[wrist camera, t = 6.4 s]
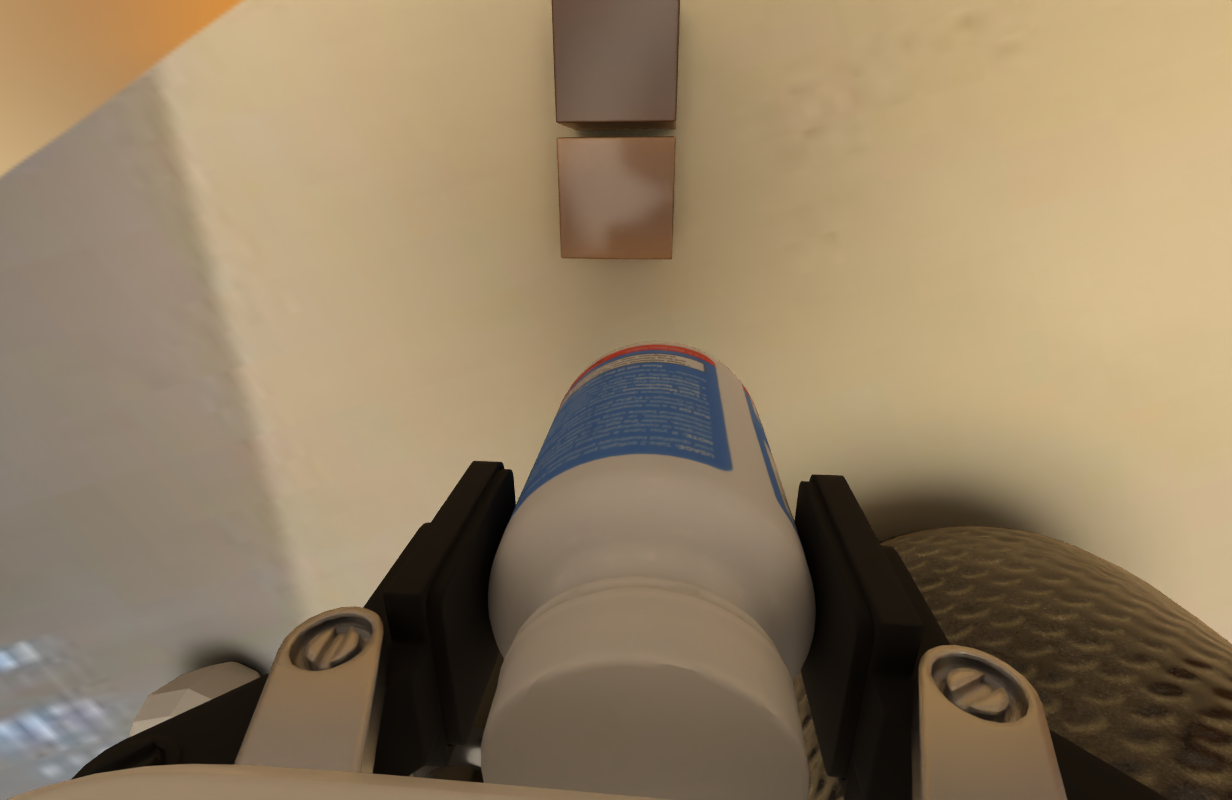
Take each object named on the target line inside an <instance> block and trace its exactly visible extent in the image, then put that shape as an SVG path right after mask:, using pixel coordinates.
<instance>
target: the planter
mask: <svg viewBox="0 0 1232 800" xmlns="http://www.w3.org/2000/svg"><path fill="white" fill-rule="evenodd" d="M880 545H886V546H892V547H894V548H895V550H896V551H897V552H898V554H899V555H900V557H901V559H902V561H903V562H904V564H905V566H906V568H907V569H908V571H909V573H910V575H911V576H912V578H913V580H914V582H915V583H916V585H917V587H918V589H919V590H920V592H921V594H922V596H923V597H924V599H925V601H926V603H927V604H928V606H929V608H930V610H931V611H932V613H933V615H934V617H935V618H936V620H937V622H938V624H939V625H940V627H941V629H942V631H943V632H944V634H945V636H946V638H947V639H948V641H949V643H950V645H958V646H964V647H970V648H974V649H977V650H979V651H982V652H985V653H988V654H991V655H992V656H994V657H996V658H998V659H1000V660H1002V661H1003V662H1005V663H1007V664H1009V665H1010V666H1011V667H1013V668H1014V669H1015V670H1016V671H1018V672H1019V673H1020V674H1021V675H1023V676H1024V677H1025V678H1026V679H1027V681H1028V682H1029V683H1030V684H1031V685H1032V686H1033V688H1034V689H1035V690H1036V692H1037V694H1038V696H1039V698H1040V700H1041V702H1042V704H1043V708H1044V712H1045V716H1046V720H1047V724H1048V727H1049V729H1050V730H1052V731H1053V732H1055V733H1057V734H1059V735H1060V736H1062V737H1064V738H1065V739H1067V740H1069V741H1070V742H1072V743H1074V744H1076V745H1077V746H1079V747H1081V748H1082V749H1084V750H1086V751H1088V752H1089V753H1091V754H1093V755H1094V756H1096V757H1098V758H1099V759H1101V760H1103V761H1105V762H1106V763H1108V764H1110V765H1111V766H1113V767H1115V768H1116V769H1118V770H1120V771H1122V772H1123V773H1125V774H1127V775H1128V776H1130V777H1132V778H1133V779H1135V780H1137V781H1139V782H1140V783H1142V784H1144V785H1145V786H1147V787H1149V788H1150V789H1152V790H1154V791H1156V792H1157V793H1159V794H1161V795H1162V796H1164V797H1166V798H1167V799H1169V800H1232V644H1231V643H1230V642H1228V641H1227V640H1226V639H1224V638H1223V637H1222V636H1220V635H1219V634H1218V633H1217V632H1215V631H1214V630H1213V629H1211V628H1210V627H1209V626H1208V625H1206V624H1205V623H1204V622H1202V621H1201V620H1200V619H1198V618H1197V617H1195V616H1194V615H1192V614H1191V613H1190V612H1188V611H1187V610H1185V609H1184V608H1182V607H1181V606H1180V605H1178V604H1177V603H1175V602H1174V601H1172V600H1171V599H1170V598H1168V597H1167V596H1165V595H1164V594H1162V593H1161V592H1160V591H1158V590H1157V589H1155V588H1154V587H1152V586H1151V585H1150V584H1148V583H1147V582H1145V581H1143V580H1142V579H1140V578H1138V577H1136V576H1135V575H1133V574H1131V573H1130V572H1128V571H1126V570H1124V569H1123V568H1121V567H1119V566H1117V565H1115V564H1113V563H1110V562H1108V561H1106V560H1104V559H1102V558H1100V557H1098V556H1095V555H1093V554H1091V553H1089V552H1087V551H1085V550H1083V549H1080V548H1078V547H1076V546H1074V545H1071V544H1068V543H1065V542H1063V541H1060V540H1057V539H1053V538H1050V537H1046V536H1043V535H1039V534H1036V533H1032V532H1028V531H1021V530H1014V529H1007V528H1000V527H992V526H953V527H944V528H935V529H926V530H922V531H918V532H914V533H910V534H905V535H901V536H898V537H894V538H891V539H888V540H886V541H883V542H880ZM793 684H794V688H795V693H796V698H797V707H798V712H799V717H800V723H801V728H802V733H803V739H804V745H805V750H806V756H807V762H808V767H809V791H808V798H807V800H844V799H843V795H842V791H841V787H840V783H839V780H838V777H829V776H828V775H827V774H826V771H825V768H824V764H823V760H822V756H821V752H820V748H819V744H818V740H817V736H816V732H815V728H814V723H813V719H812V715H811V711H810V707H809V703H808V699H807V695H806V691H805V687H804V683H803V679H802V674H801V670H800V673H799V674H798V676H797V677H796V679H795V680H794V681H793Z"/></svg>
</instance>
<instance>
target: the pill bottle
mask: <svg viewBox="0 0 1232 800" xmlns="http://www.w3.org/2000/svg"><path fill="white" fill-rule="evenodd" d="M488 611H489V619H490V623H491V627H492V631H493V634H494V637H495V640H496V643H497V646H498V648H499V650H500V652H501V654H502V656H503V658H504V661H503V664H502V666H501V670H500V674H499V679H498V686H497V689H496V692H495V695H494V699H493V702H492V706H491V709H490V712H489V716H488V719H487V723H486V726H485V730H484V733H483V738H482V743H481V770H482V775H483V781H484V783H491V784H502V785H514V786H526V787H537V788H548V789H559V790H570V791H581V792H593V793H604V794H615V795H626V796H637V797H648V798H659V799H670V800H807V798H808V791H809V767H808V762H807V756H806V750H805V745H804V739H803V733H802V728H801V723H800V717H799V712H798V707H797V698H796V693H795V688H794V684H793V681H794V680H795V679H796V677H797V676H798V674H799V673H800V670H801V668H802V666H803V664H804V662H805V660H806V658H807V655H808V653H809V650H810V646H811V643H812V639H813V635H814V630H815V620H816V603H815V594H814V588H813V583H812V579H811V575H810V571H809V568H808V565H807V561H806V557H805V553H804V550H803V547H802V544H801V541H800V538H799V535H798V532H797V529H796V525H795V522H794V519H793V517H792V514H791V511H790V508H789V505H788V502H787V499H786V496H785V493H784V490H783V487H782V483H781V480H780V477H779V474H778V471H777V468H776V465H775V462H774V459H773V457H772V454H771V450H770V447H769V444H768V441H767V438H766V436H765V432H764V429H763V426H762V424H761V421H760V418H759V415H758V413H757V410H756V408H755V405H754V403H753V401H752V399H751V397H750V395H749V394H748V392H747V390H746V388H745V387H744V386H743V384H742V383H741V381H740V380H739V379H738V378H737V377H736V375H735V374H734V373H733V372H732V371H731V370H730V369H729V368H728V367H726V366H725V365H724V364H723V363H721V362H720V361H719V360H717V359H715V358H714V357H712V356H711V355H709V354H707V353H705V352H703V351H701V350H698V349H696V348H693V347H690V346H687V345H683V344H678V343H672V342H642V343H636V344H632V345H629V346H625V347H622V348H619V349H617V350H614V351H612V352H610V353H608V354H606V355H604V356H603V357H601V358H599V359H598V360H596V361H595V362H593V363H592V364H591V365H590V366H588V367H587V368H586V369H585V370H584V371H583V372H582V373H581V374H580V375H579V376H578V378H577V379H576V380H575V381H574V383H573V384H572V386H571V387H570V389H569V390H568V392H567V394H566V395H565V397H564V399H563V401H562V403H561V405H560V408H559V410H558V412H557V414H556V416H555V419H554V421H553V423H552V426H551V428H550V430H549V432H548V435H547V437H546V439H545V441H544V444H543V446H542V448H541V450H540V453H539V455H538V457H537V459H536V462H535V464H534V466H533V468H532V470H531V472H530V475H529V477H528V479H527V482H526V484H525V486H524V488H523V491H522V493H521V495H520V497H519V500H518V502H517V504H516V506H515V509H514V511H513V513H512V515H511V518H510V520H509V522H508V525H507V527H506V529H505V531H504V534H503V536H502V539H501V542H500V544H499V547H498V549H497V552H496V554H495V558H494V561H493V564H492V568H491V573H490V579H489V586H488Z"/></svg>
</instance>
